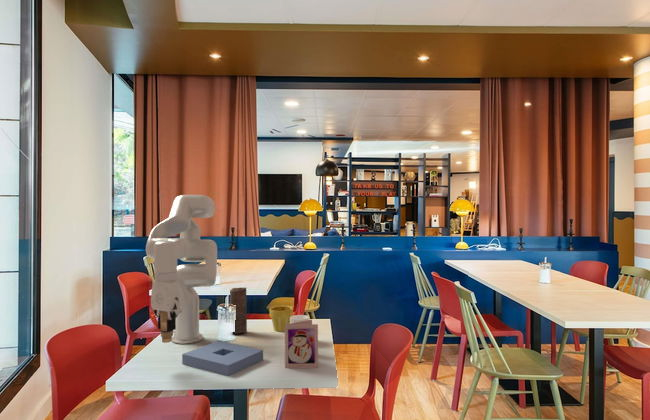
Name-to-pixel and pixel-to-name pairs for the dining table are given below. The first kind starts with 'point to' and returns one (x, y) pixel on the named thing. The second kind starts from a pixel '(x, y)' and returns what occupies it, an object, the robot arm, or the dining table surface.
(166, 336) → the leg peg
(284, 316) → the plant pot
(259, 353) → the board
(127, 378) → the dining table surface
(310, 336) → the greeting card
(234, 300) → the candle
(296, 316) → the white cup
